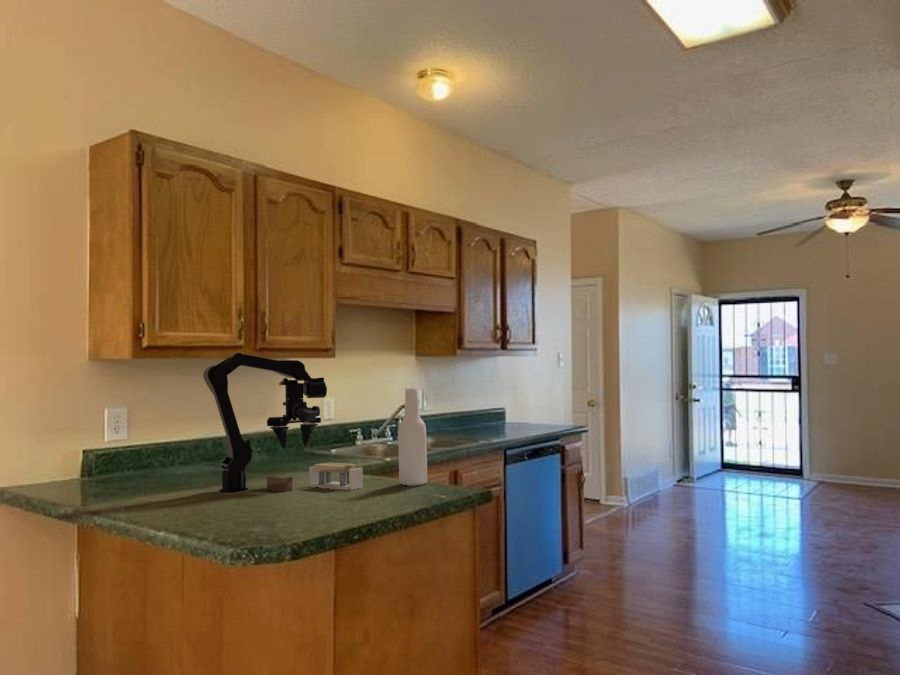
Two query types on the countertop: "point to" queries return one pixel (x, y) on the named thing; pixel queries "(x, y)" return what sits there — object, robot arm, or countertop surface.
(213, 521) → the countertop surface
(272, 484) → the block
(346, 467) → the shelf board
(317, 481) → the peg frame
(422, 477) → the alcohol
